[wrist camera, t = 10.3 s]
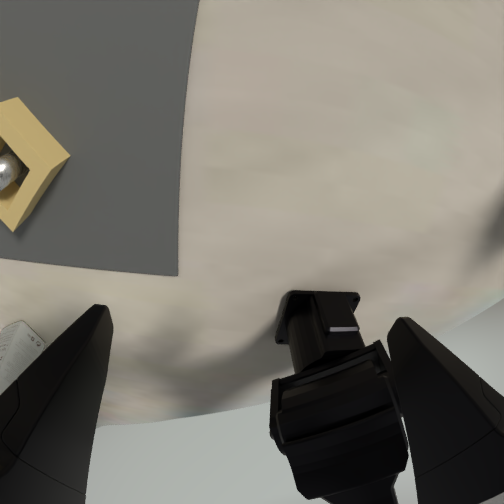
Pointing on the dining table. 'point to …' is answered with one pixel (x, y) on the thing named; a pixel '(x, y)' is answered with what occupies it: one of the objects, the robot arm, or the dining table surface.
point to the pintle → (10, 168)
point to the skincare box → (17, 351)
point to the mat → (102, 127)
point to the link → (27, 160)
